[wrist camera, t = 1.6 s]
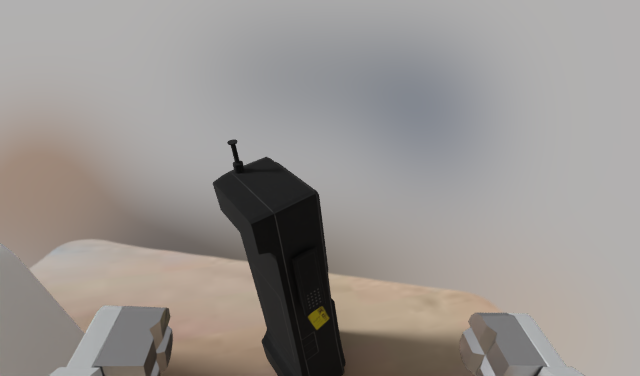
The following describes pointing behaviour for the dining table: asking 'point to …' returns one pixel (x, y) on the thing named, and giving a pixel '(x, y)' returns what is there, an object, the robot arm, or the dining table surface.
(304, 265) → the portable radio
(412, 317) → the dining table surface
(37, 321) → the milk
